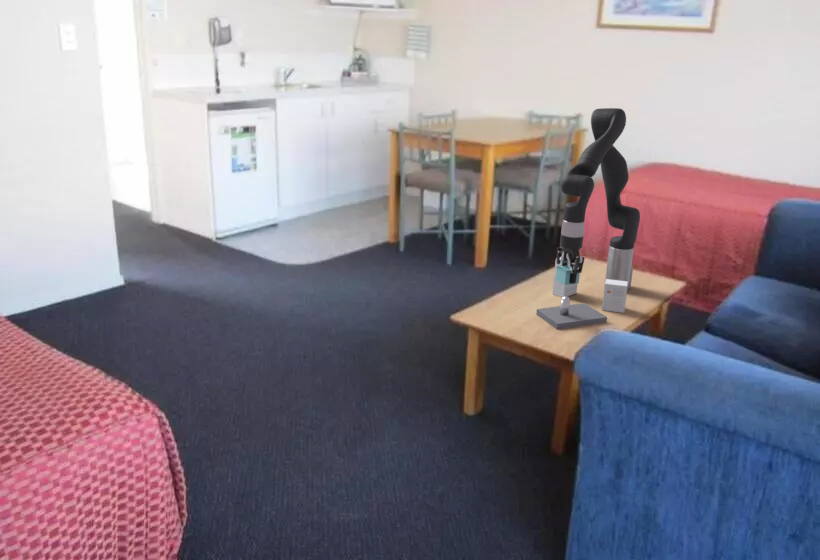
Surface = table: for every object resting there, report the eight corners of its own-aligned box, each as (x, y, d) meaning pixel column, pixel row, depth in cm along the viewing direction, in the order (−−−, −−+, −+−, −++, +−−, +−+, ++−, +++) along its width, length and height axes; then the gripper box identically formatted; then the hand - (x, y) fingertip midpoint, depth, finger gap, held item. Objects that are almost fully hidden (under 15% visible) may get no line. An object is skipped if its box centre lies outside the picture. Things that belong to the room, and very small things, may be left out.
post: (565, 311, 243) (567, 294, 241) (570, 314, 240) (572, 297, 238) (558, 312, 242) (560, 295, 240) (562, 315, 239) (564, 298, 237)
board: (583, 308, 252) (584, 303, 252) (606, 322, 240) (607, 317, 239) (536, 314, 246) (536, 309, 245) (556, 329, 233) (557, 323, 233)
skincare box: (565, 289, 271) (568, 253, 266) (577, 293, 266) (581, 257, 261) (551, 294, 266) (554, 257, 261) (563, 298, 261) (567, 261, 256)
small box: (624, 307, 253) (628, 281, 250) (624, 313, 248) (627, 286, 245) (602, 304, 256) (605, 278, 252) (601, 310, 251) (604, 283, 247)
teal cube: (569, 278, 240) (571, 264, 239) (578, 283, 236) (580, 269, 234) (555, 279, 239) (557, 266, 237) (564, 285, 234) (565, 271, 232)
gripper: (594, 238, 226) (588, 286, 232) (570, 227, 239) (565, 273, 245) (574, 239, 224) (569, 288, 229) (551, 228, 236) (547, 274, 242)
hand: (567, 280), depth 237 cm, fingers closed on teal cube, 5 cm apart
